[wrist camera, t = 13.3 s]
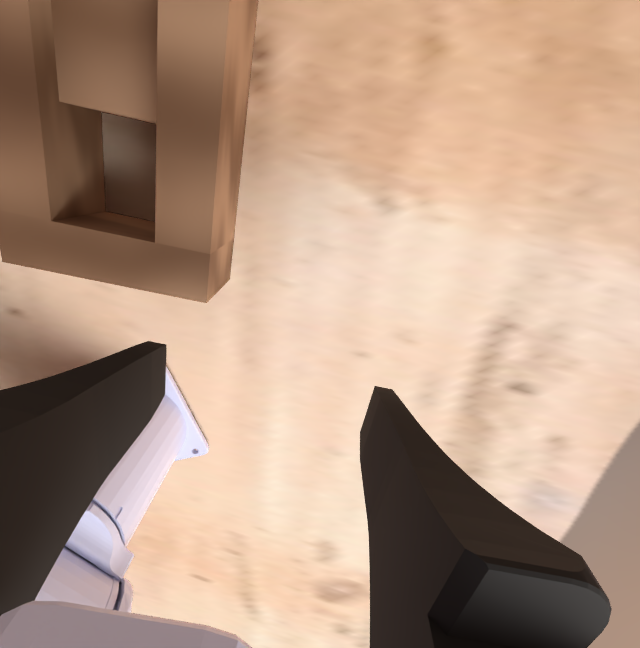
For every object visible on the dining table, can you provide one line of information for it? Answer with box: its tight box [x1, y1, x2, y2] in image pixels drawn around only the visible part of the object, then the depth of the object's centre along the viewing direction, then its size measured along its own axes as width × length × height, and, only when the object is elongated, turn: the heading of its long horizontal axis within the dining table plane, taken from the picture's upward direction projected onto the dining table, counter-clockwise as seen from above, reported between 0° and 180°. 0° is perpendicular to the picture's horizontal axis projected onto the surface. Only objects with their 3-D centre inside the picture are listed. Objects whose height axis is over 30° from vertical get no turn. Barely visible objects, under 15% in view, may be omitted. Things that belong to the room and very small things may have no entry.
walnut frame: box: [0, 0, 258, 303], centre depth 16 cm, size 16×10×4 cm, turn 168°
